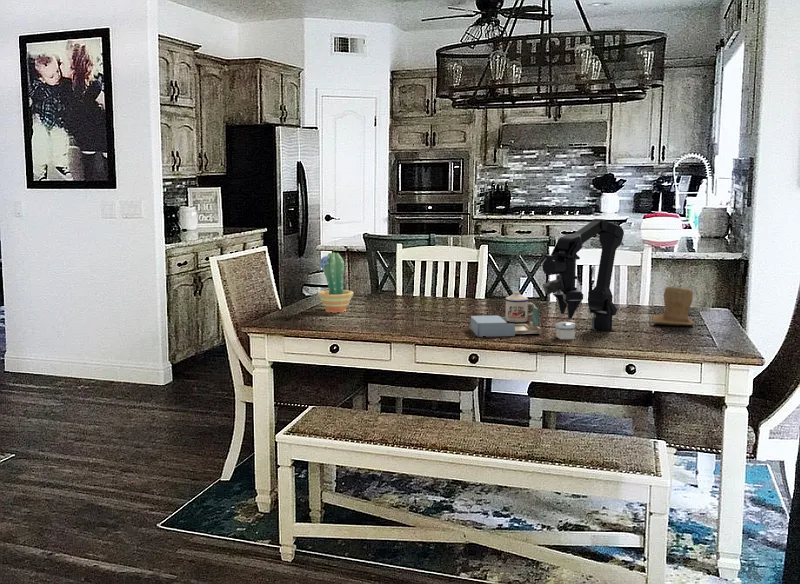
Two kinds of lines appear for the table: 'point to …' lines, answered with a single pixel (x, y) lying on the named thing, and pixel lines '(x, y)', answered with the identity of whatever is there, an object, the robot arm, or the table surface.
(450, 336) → the table surface
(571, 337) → the pedestal
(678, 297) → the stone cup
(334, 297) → the potted cactus
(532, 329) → the tray
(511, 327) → the housing
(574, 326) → the disc
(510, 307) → the teacup with lid
